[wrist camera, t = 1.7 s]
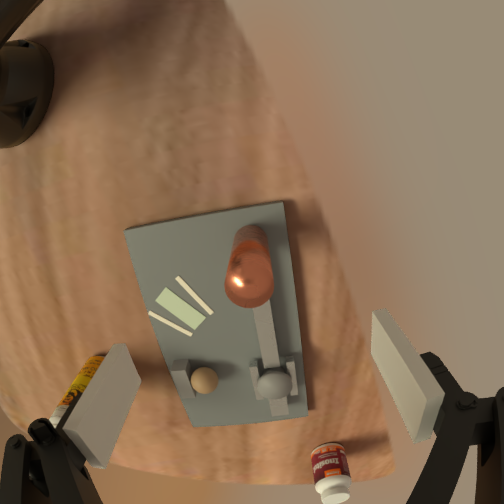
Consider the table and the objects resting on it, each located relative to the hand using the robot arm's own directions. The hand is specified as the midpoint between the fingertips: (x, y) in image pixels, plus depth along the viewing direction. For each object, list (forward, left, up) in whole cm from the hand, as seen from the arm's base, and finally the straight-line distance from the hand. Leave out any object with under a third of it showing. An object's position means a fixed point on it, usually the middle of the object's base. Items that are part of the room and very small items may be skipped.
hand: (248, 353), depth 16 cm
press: (+12, -5, -21) cm, 25 cm away
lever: (+11, 0, -19) cm, 23 cm away
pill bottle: (+41, +7, -21) cm, 47 cm away
